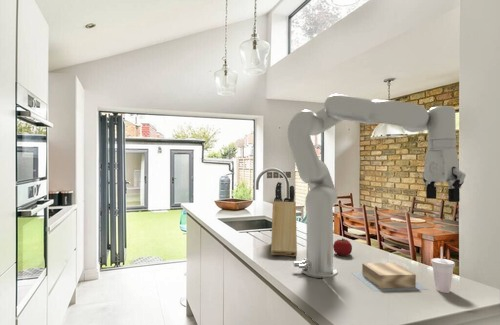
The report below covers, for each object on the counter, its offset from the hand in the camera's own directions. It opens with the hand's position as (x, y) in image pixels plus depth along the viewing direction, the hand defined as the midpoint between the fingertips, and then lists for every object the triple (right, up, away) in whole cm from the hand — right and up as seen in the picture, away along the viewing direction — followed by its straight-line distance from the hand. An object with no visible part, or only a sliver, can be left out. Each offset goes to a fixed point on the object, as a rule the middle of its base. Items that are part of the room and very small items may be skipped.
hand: (442, 200), depth 97 cm
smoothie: (0, -29, -1) cm, 29 cm away
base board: (-14, -29, +7) cm, 33 cm away
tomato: (-19, -29, +40) cm, 53 cm away
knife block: (-45, -29, +50) cm, 73 cm away
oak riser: (-14, -28, +7) cm, 32 cm away
